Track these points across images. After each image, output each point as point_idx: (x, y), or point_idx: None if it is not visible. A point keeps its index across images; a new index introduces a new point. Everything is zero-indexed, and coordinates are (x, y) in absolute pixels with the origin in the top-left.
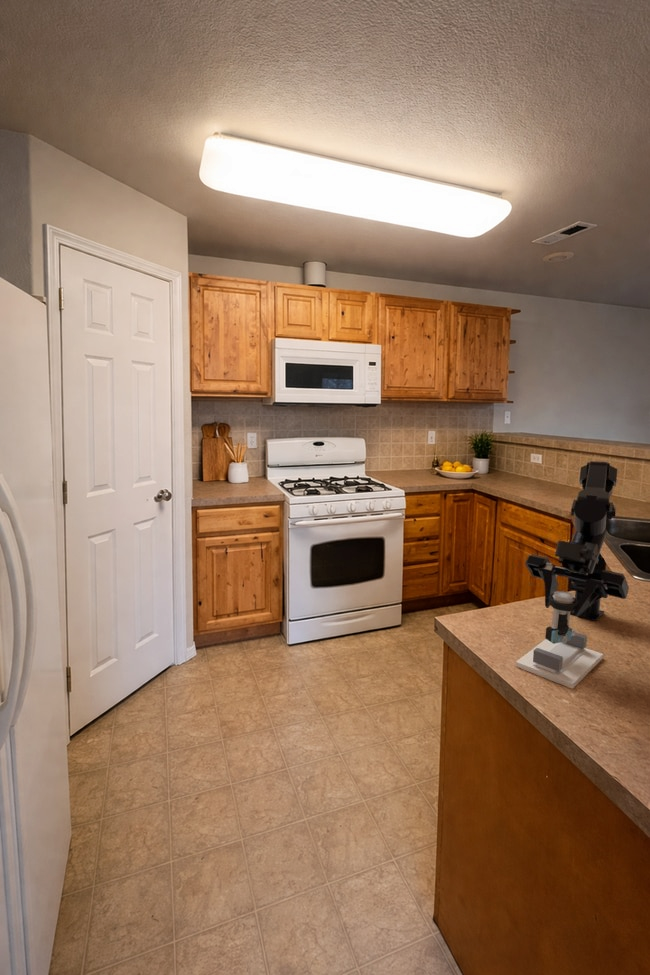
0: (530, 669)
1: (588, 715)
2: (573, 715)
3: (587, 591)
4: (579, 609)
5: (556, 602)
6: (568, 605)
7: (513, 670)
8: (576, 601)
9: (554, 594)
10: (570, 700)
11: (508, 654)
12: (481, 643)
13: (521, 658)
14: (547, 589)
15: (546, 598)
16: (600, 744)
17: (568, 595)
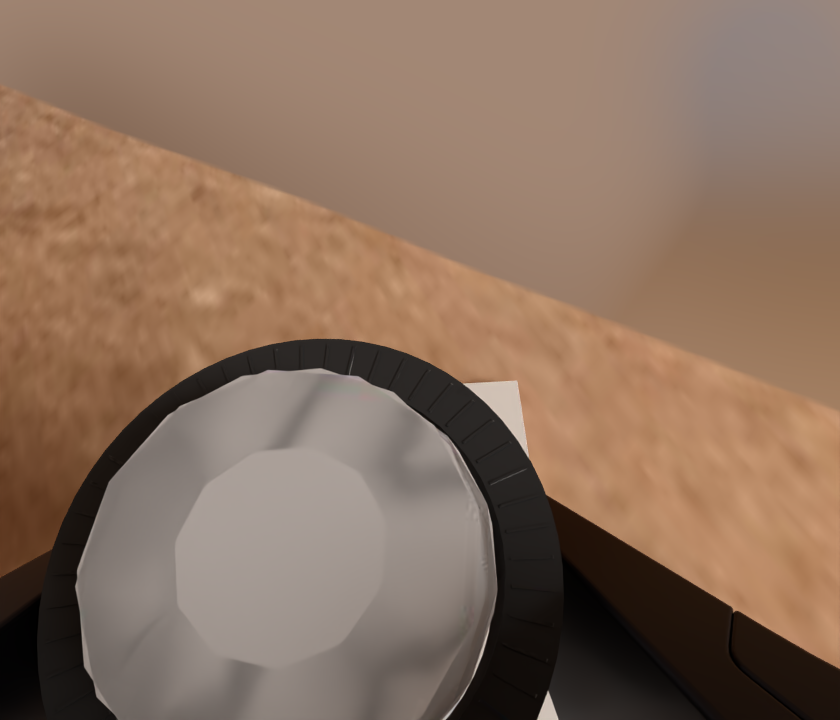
0: None
1: (97, 271)
2: (148, 232)
3: None
4: (37, 559)
5: (329, 343)
6: (156, 400)
7: (496, 351)
8: (72, 677)
9: (426, 426)
10: (188, 315)
11: (621, 481)
12: (805, 478)
13: (520, 436)
14: (692, 623)
15: (584, 534)
16: (30, 156)
17: (186, 586)
